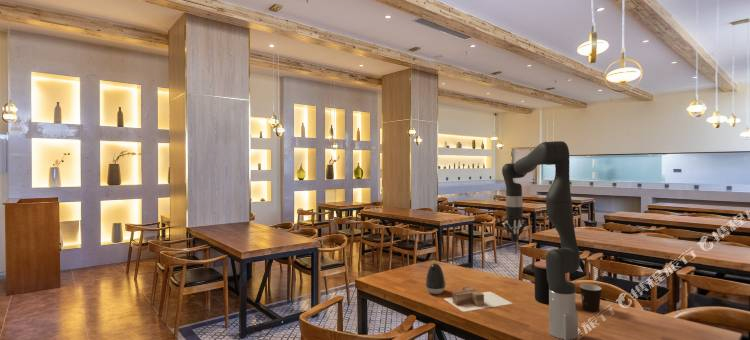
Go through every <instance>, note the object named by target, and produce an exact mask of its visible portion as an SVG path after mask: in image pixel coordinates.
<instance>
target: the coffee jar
mask: <svg viewBox="0 0 750 340" xmlns="http://www.w3.org/2000/svg"><path fill="white" fill-rule="evenodd" d="M533 270H534V300H535V301H537V302H538V303H540V304H544V305H548V306H549V284H548V281H547V271H546V260H545V261H544V260H542V261H541V260H540V261H535V262H534V269H533Z"/></svg>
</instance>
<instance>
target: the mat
mask: <svg viewBox="0 0 750 340" xmlns="http://www.w3.org/2000/svg"><path fill="white" fill-rule="evenodd" d="M481 293H482V294H484V305H481V306H476V305H474V304H472V303H470V304H464V305H455V304H454V303H453V296H451V297H444V298H443V300H445V301H446V302H447V303H449V304H450V305H452V306H453V307H455V308H456V309H458V310H460V311H461V312H464V313H465V312H470V311H475V310H482V309H488V308H494V307H500V306H507V305H512V304H514V303H513V302H511V301H509V300H507V299H505V298H503V297H502V296H500V295H497V294H496V293H494V292H491V291H485V292H481Z"/></svg>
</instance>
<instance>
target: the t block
mask: <svg viewBox="0 0 750 340" xmlns="http://www.w3.org/2000/svg"><path fill="white" fill-rule="evenodd" d="M482 293H483V292H481V291H478V290H477V289H475V288H473V287H471V286H465V287H463V288H462V290H459V291H452V297H453V303H454V304H455V305H464V304H470V303H472V304H474V305H476V306H481V305H484V294H482Z"/></svg>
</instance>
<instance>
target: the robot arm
mask: <svg viewBox="0 0 750 340" xmlns="http://www.w3.org/2000/svg"><path fill="white" fill-rule="evenodd" d="M539 165H542V166H543V165H544V166H545V165H546V166H549V165H550V166H552V165H553V166H554V167H555V169H554V170H555V172H554V173H555V174H554V179H553V182H552V183H551V185H550V187H549V189H548V191H547V193H546V197H545V207H546V214H547V217H548V220H549V221H550V222H551V225H552V226H553V227H554V228H555V230H556V232H557V234H558V235H559V240H560V247H561V248H557V249H550V250H548V252H547V253H546V257H545V261H546V271H547V281H548V284H549V305H548V307H549V308H548V312H549V313H548V315H549V316H548V317H549V321H548V325H549V334H550V335H551V336H553V337H554V338H557V339H561V340H574V339H578V338H579V313H578V312H576V284H575V283H573V282H572V281H569V280H566V274H569V273H570V274H571V273H575V272H577V271H578V270H580V267H581V266H580V265H581V259H580V258H581V257H580V252H579V248H578V247H579V246H578V243H577V237H576V232H575V224H574V223H575V222H574V214H573V213H574V212H573V202H572V201H573V200H572V193H571V192H572V191H571V185H570V183H571V182H570V180H571V178H570V150H569V146H568V144H567V143H566V142H565V141H562V140H560V141H558V140H557V141H556V140H555V141H542V142H541V143H539V144H538V145H537V146H536V147H534V148H533V149H532V151H530V152H529V153H528V154H527V155H526V156H523V157H521V158H519V159H517V161H515V163H505V164H504V165H503V166H502V168H501V174H502V177H503V180H504V184H505V190H506V191H505V195H506V198H505V215H506V218H505V221H504V222H502V223H501V225H502V226H503V228H504V229H505V231H506V232H507V233H509V234H510V240H511V241H512V242H513V243H518V240H519V234H520V233H522V232H523V230H524V229H525V227H526V225H527V224H528V222H527V221H526V220H524V218H523V214H524V213H523V212H524V208H523V207H524V205H523V204H524V202H523V186H522V184H521V183H518V182H514V180H513V179H522V178H524V177H525V176H527V174H528V173H530V172H532V171H534V170H535V169H536V168H537V166H539Z"/></svg>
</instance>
